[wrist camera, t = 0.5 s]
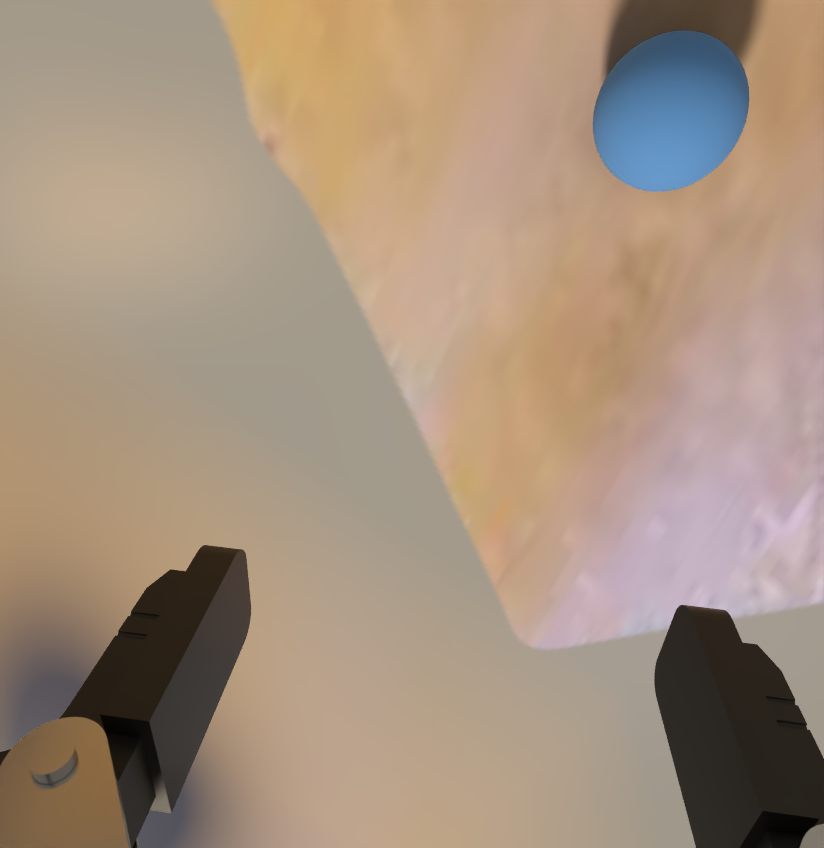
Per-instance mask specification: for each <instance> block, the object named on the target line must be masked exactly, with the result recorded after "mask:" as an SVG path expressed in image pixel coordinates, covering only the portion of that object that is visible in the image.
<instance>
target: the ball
mask: <svg viewBox="0 0 824 848" xmlns="http://www.w3.org/2000/svg"><path fill="white" fill-rule="evenodd" d="M748 106H749V87H748V81H747V77H746V74H745V71H744V68H743V66H742V64H741V62H740V60H739V59H738V58H737V56H736V55H735V54H734V52H733V51H732V50H731V49H730V48H729V47H728V46H727V45H726V44H724V43H723V42H722V41H720V40H719V39H717V38H715V37H713V36H711V35H708V34H705V33H701V32H697V31H689V30H679V31H671V32H666V33H663V34H660V35H657V36H654V37H652V38H650V39H648V40H645V41H643V42H642V43H640V44H639V45H637V46H635V47H634V48H633V49H631V50H630V51H629V52H628V53H627V54H625V55H624V56H623V57H622V58H621V59H620V60H619V61H618V62H617V64H616V65H615V66H614V68H613V69H612V70H611V71H610V73H609V75H608V76H607V78H606V79H605V81H604V83H603V85H602V87H601V89H600V92H599V95H598V98H597V100H596V105H595V109H594V117H593V133H594V140H595V144H596V147H597V150H598V152H599V155H600V157H601V159H602V161H603V162H604V164H605V165H606V167H607V168H608V169H609V170H610V172H611V173H612V174H613V175H614V176H616V177H617V178H618V179H619V180H621V181H623V182H624V183H626V184H628V185H630V186H632V187H634V188H637V189H641V190H645V191H670V190H676V189H679V188H683V187H686V186H688V185H691V184H693V183H695V182H697V181H699V180H700V179H702V178H704V177H705V176H706V175H708V174H709V173H711V172H712V171H713V170H714V169H715V168H716V167H718V166H719V165H720V164H721V163H722V162H723V161H724V160H725V158H726V157H727V156H728V155H729V153H730V152H731V151H732V149H733V148H734V146H735V144H736V143H737V141H738V139H739V137H740V135H741V133H742V131H743V128H744V125H745V122H746V118H747V114H748Z"/></svg>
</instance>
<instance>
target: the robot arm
mask: <svg viewBox="0 0 824 848" xmlns="http://www.w3.org/2000/svg"><path fill="white" fill-rule="evenodd" d="M250 617H251V602H250V591H249V581H248V570H247V559H246V554H245V552H244V550H241V549H232V548H224V547H216V546H208V545H204V546H202V547H201V548H200V549H199V551H198V552H197V554H196V555H195V557H194V559H193V560H192V562H191V564H190V565H189V567H188V568H187V570H186V571H178V570H169V571H168V572H167V573H165V574H164V575H163V576H162V577H160V578H159V579H158V580H156V581H155V582H154V583H153V584H151V585H150V586H149V587H147V588H146V590H145V591H144V593H143V594H142V596H141V597H140V599H139V600H138V602H137V603H136V605H135V606H134V608H133V609H132V611H131V615H130V616H128V617H127V619H126V620H125V622H124V623H123V625H122V626H121V628H120V629H119V633H118V636H115V637H114V638H113V640H112V641H111V643H110V645H109V646H108V647H107V649H106V651H105V652H104V654H103V655H102V657H101V658H100V660H99V661H98V663H97V664H96V666H95V667H94V669H93V670H92V672H91V673H90V675H89V676H88V678H87V679H86V681H85V682H84V684H83V686H82V687H81V688H80V690H79V692H78V693H77V695H76V696H75V698H74V699H73V701H72V702H71V704H70V705H69V707H68V708H67V709H66V711H65V712H64V714H63V715H62V716H61V717H60V718H59V719H57V720H54V721H51V722H48V723H46V724H44V725H42V726H39V727H38V728H36V729H34V730H33V731H31V732H30V733H28V734H27V735H26V736H24V737H23V738H22V739H21V740H20V741H19V742H18V743H17V744H16V745H15V746H14V747H13V748H12V749H10V750H7V751H3V752H0V848H139V844H138V839H137V837H138V834H139V832H140V830H141V828H142V825H143V823H144V821H145V819H146V817H147V814H148V813H149V810H153V811H161V812H167V813H172V811H173V808H174V806H175V803H176V801H177V799H178V797H179V794H180V792H181V789H182V787H183V785H184V783H185V779H186V778H187V775H188V773H189V771H190V768H191V766H192V764H193V761H194V759H195V757H196V754H197V752H198V750H199V747H200V745H201V743H202V740H203V738H204V736H205V733H206V731H207V729H208V726H209V724H210V722H211V719H212V717H213V714H214V712H215V710H216V707H217V705H218V703H219V700H220V698H221V696H222V693H223V691H224V688H225V686H226V684H227V682H228V679H229V677H230V675H231V672H232V670H233V668H234V665H235V663H236V660H237V658H238V656H239V653H240V651H241V649H242V646H243V644H244V642H245V639H246V636H247V633H248V628H249V624H250ZM655 692H656V697H657V701H658V705H659V709H660V713H661V716H662V720H663V724H664V728H665V732H666V735H667V739H668V743H669V747H670V750H671V754H672V758H673V762H674V765H675V769H676V773H677V777H678V781H679V784H680V788H681V792H682V796H683V800H684V803H685V807H686V811H687V815H688V818H689V822H690V826H691V830H692V833H693V837H694V841H695V845H696V848H824V758H823V756H822V754H821V752H820V750H819V748H818V746H817V744H816V742H815V740H814V738H813V736H812V734H811V732H810V730H807V728H806V725H807V723H806V721H805V719H804V717H803V715H802V713H801V711H800V709H799V707H798V706H797V705H795V698H794V696H793V694H792V692H791V690H790V688H789V686H788V684H787V682H786V680H785V678H784V676H783V673H782V672H781V670H780V669H779V668H778V667H777V666H776V665H775V664H774V662H773V661H772V660H771V659H770V658H769V657H768V656H767V655H766V654H765V653H764V652H763V650H762V649H761V648H760V647H759V646H758V645H756V644H748V643H742V641H741V639H740V636H739V634H738V632H737V629H736V627H735V625H734V622H733V620H732V618H731V616H730V615H729V613H728V612H727V611H725V610H719V609H711V608H703V607H695V606H687V605H681V606H679V607H678V608H677V610H676V612H675V614H674V617H673V619H672V622H671V625H670V627H669V630H668V632H667V635H666V638H665V641H664V643H663V646H662V649H661V651H660V653H659V656H658V659H657V662H656V667H655Z"/></svg>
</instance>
